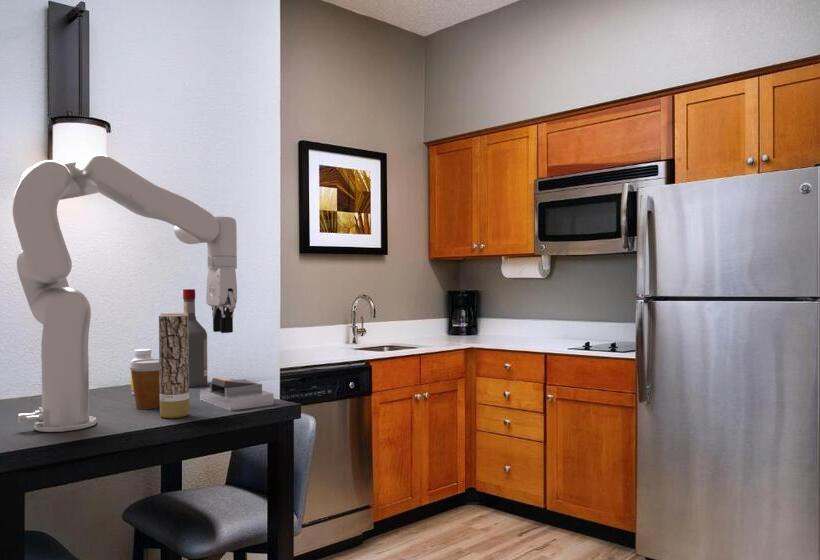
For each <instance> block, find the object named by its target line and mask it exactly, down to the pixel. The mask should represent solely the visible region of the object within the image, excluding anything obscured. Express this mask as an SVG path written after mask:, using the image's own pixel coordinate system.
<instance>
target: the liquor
mask: <svg viewBox="0 0 820 560" xmlns="http://www.w3.org/2000/svg"><path fill="white" fill-rule="evenodd" d="M182 299H183V313H187V314H188V321H189V389H190V388H197V387H204V386H206V385H207V384H208V333H207V331H206V329H205V328H204V327H203V325H202V324H201V323H200V322H199V321H198V320H197V317H196V288H195V289H194V288H192V289H191V288H189V289H183V288H182Z"/></svg>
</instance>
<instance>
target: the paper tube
mask: <svg viewBox="0 0 820 560" xmlns="http://www.w3.org/2000/svg"><path fill="white" fill-rule="evenodd" d="M158 359H159V385H160V407H159V416H160V417H162V418H164V419H178V418H184V417H187V416H188V415H189V414H190V388H189V321H188V314H187V313H184V312H162V313H159V314H158Z"/></svg>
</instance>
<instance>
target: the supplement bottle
mask: <svg viewBox="0 0 820 560" xmlns="http://www.w3.org/2000/svg"><path fill="white" fill-rule="evenodd" d="M133 355H134V358H133V359H132V360H130V363H131V362H132V361H135V360H144V359H154V357H152V349H151V348H142V349H141V348H139V349H138V348H137V349H134V351H133ZM130 387H131V388H130V391H131V395H133V396H135V394H134V387H133V381H132V373H131V372H130Z"/></svg>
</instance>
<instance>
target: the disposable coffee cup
mask: <svg viewBox="0 0 820 560" xmlns="http://www.w3.org/2000/svg"><path fill="white" fill-rule="evenodd" d="M131 361H132V360H131ZM131 361H130V365H129V370H130V374H131V373H132V381H133V387H134V394H135V395H134V401H135V407H136V409H138V410H151V408H153V409H157V408H158V407H159V408H160V385H159V358H153V359H144V360H135V361H132V362H131Z"/></svg>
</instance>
